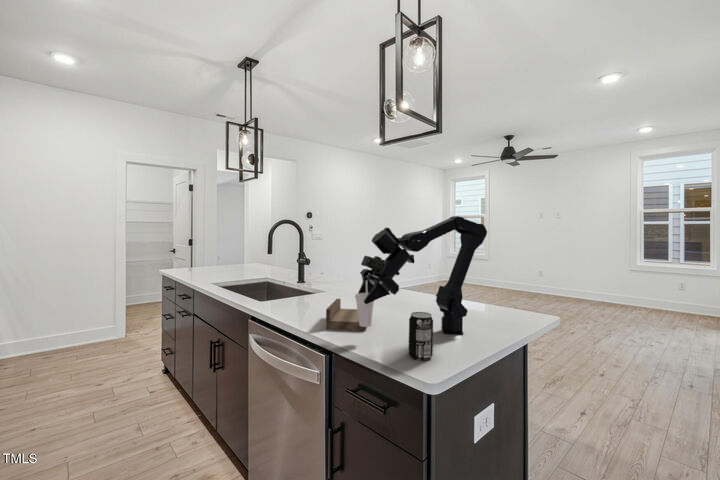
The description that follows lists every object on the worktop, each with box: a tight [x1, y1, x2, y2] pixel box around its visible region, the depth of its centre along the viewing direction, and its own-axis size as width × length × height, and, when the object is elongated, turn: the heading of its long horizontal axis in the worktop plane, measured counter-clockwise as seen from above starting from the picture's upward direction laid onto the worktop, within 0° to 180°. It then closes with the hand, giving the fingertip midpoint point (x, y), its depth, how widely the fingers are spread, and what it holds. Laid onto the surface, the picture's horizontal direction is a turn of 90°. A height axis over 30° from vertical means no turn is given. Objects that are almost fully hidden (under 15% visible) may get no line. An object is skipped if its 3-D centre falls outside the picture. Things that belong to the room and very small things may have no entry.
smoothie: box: [354, 280, 375, 328], centre depth 104 cm, size 6×6×14 cm
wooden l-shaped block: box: [325, 298, 368, 332], centre depth 126 cm, size 14×18×7 cm
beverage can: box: [408, 311, 434, 361], centre depth 93 cm, size 7×7×12 cm
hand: (360, 300), depth 104 cm, fingers closed on smoothie, 6 cm apart
